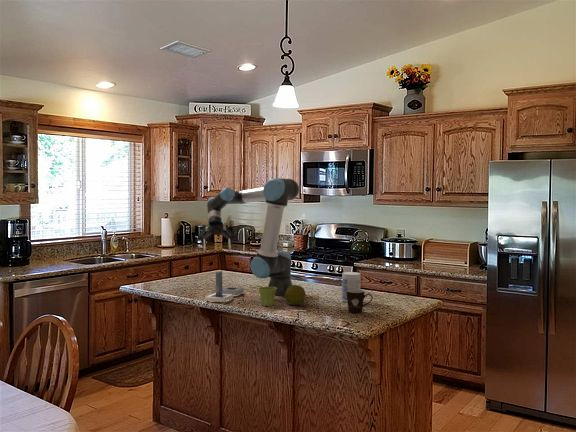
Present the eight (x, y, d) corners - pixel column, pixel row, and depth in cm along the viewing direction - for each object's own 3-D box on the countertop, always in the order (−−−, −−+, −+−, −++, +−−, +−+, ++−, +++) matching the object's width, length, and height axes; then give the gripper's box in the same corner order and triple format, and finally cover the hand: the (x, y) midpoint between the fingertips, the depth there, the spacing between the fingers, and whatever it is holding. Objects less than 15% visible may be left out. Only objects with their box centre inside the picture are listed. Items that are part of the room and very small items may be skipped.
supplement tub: (339, 302, 268) (339, 273, 267) (345, 299, 276) (345, 271, 276) (357, 304, 264) (357, 275, 263) (362, 300, 272) (362, 272, 272)
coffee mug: (342, 312, 244) (342, 291, 244) (351, 309, 252) (351, 288, 251) (365, 315, 238) (365, 294, 237) (373, 312, 245) (373, 291, 245)
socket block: (243, 293, 291) (243, 287, 290) (236, 297, 281) (236, 290, 281) (227, 292, 294) (227, 286, 293) (219, 296, 284) (219, 289, 284)
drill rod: (223, 300, 273) (223, 271, 273) (220, 301, 270) (220, 272, 269) (217, 299, 274) (217, 271, 274) (214, 301, 271) (214, 272, 271)
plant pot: (254, 305, 261) (254, 287, 261) (269, 302, 267) (269, 285, 267) (265, 308, 254) (265, 290, 254) (280, 305, 260) (280, 288, 260)
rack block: (233, 299, 276) (233, 294, 276) (224, 303, 265) (224, 298, 265) (214, 297, 279) (214, 293, 279) (204, 302, 269) (204, 297, 268)
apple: (284, 306, 257) (284, 284, 257) (286, 302, 267) (286, 281, 267) (304, 307, 256) (304, 285, 256) (306, 303, 266) (306, 281, 265)
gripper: (236, 224, 301) (239, 253, 287) (192, 224, 295) (193, 254, 281) (237, 215, 295) (241, 244, 281) (192, 215, 290) (194, 245, 276)
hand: (217, 249), depth 281 cm, fingers open, 13 cm apart
